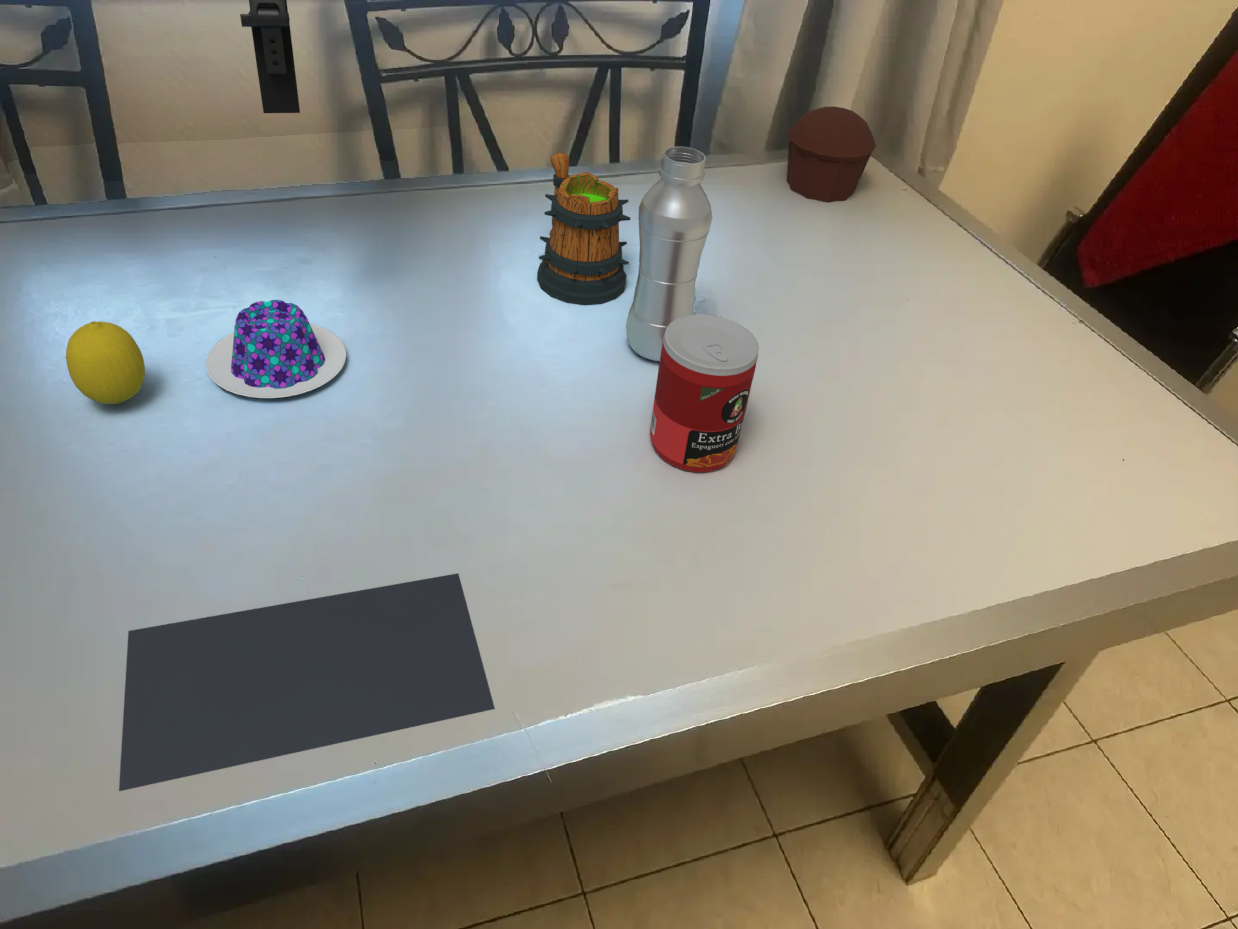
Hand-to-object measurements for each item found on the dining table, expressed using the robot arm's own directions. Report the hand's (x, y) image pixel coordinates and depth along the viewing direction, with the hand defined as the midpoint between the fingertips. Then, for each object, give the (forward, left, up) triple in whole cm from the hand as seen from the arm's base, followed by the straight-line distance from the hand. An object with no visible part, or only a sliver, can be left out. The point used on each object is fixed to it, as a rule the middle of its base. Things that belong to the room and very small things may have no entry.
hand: (279, 79), depth 79 cm
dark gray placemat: (+26, -35, -22) cm, 49 cm away
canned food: (+41, -1, -22) cm, 46 cm away
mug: (+20, +20, -22) cm, 36 cm away
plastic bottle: (+33, +11, -22) cm, 41 cm away
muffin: (+38, +58, -22) cm, 73 cm away
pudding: (+3, -9, -22) cm, 24 cm away
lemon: (-4, -20, -22) cm, 30 cm away
